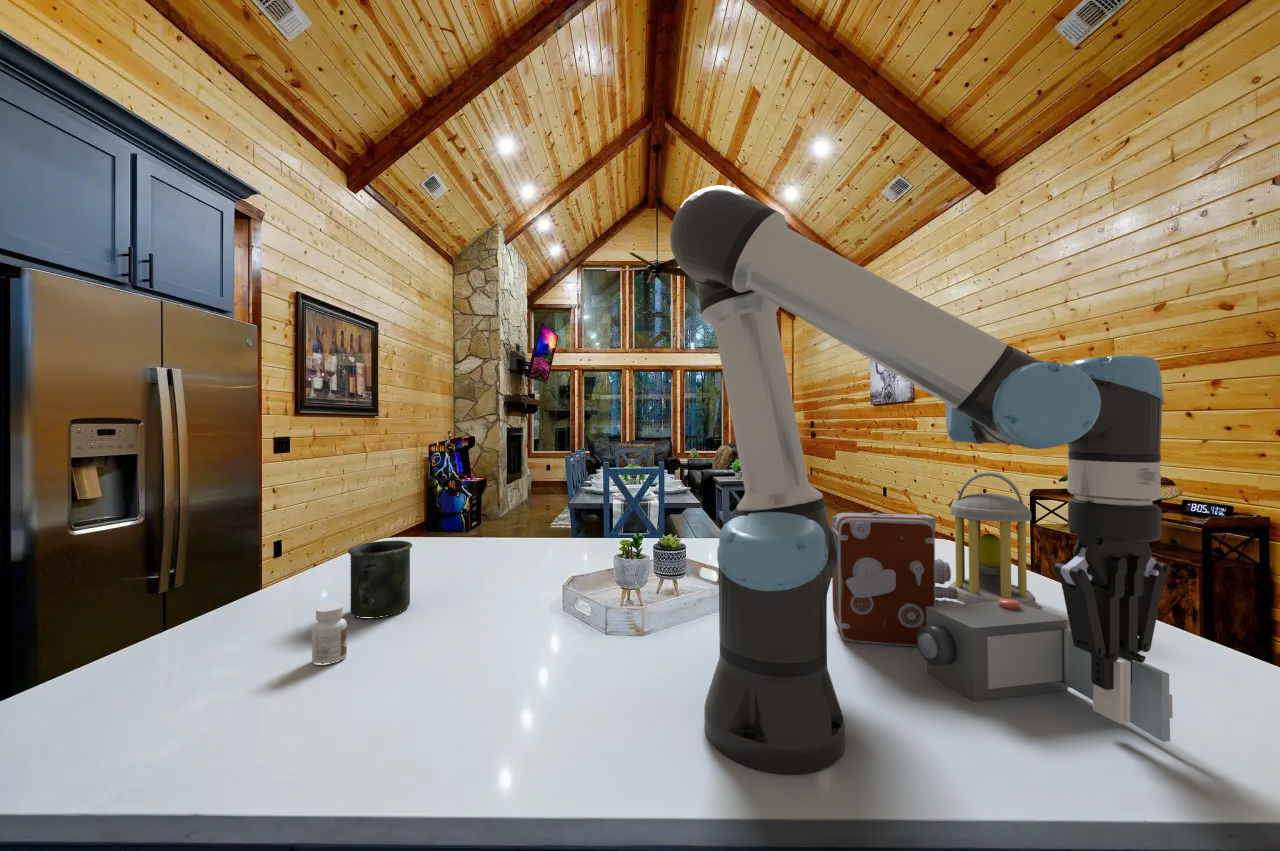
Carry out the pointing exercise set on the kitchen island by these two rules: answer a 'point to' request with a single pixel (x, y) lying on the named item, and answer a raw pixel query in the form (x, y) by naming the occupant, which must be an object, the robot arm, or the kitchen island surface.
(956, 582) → the lantern
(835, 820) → the kitchen island surface
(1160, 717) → the side door
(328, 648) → the pill bottle
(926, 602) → the cine camera
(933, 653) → the camera block
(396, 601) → the mug
